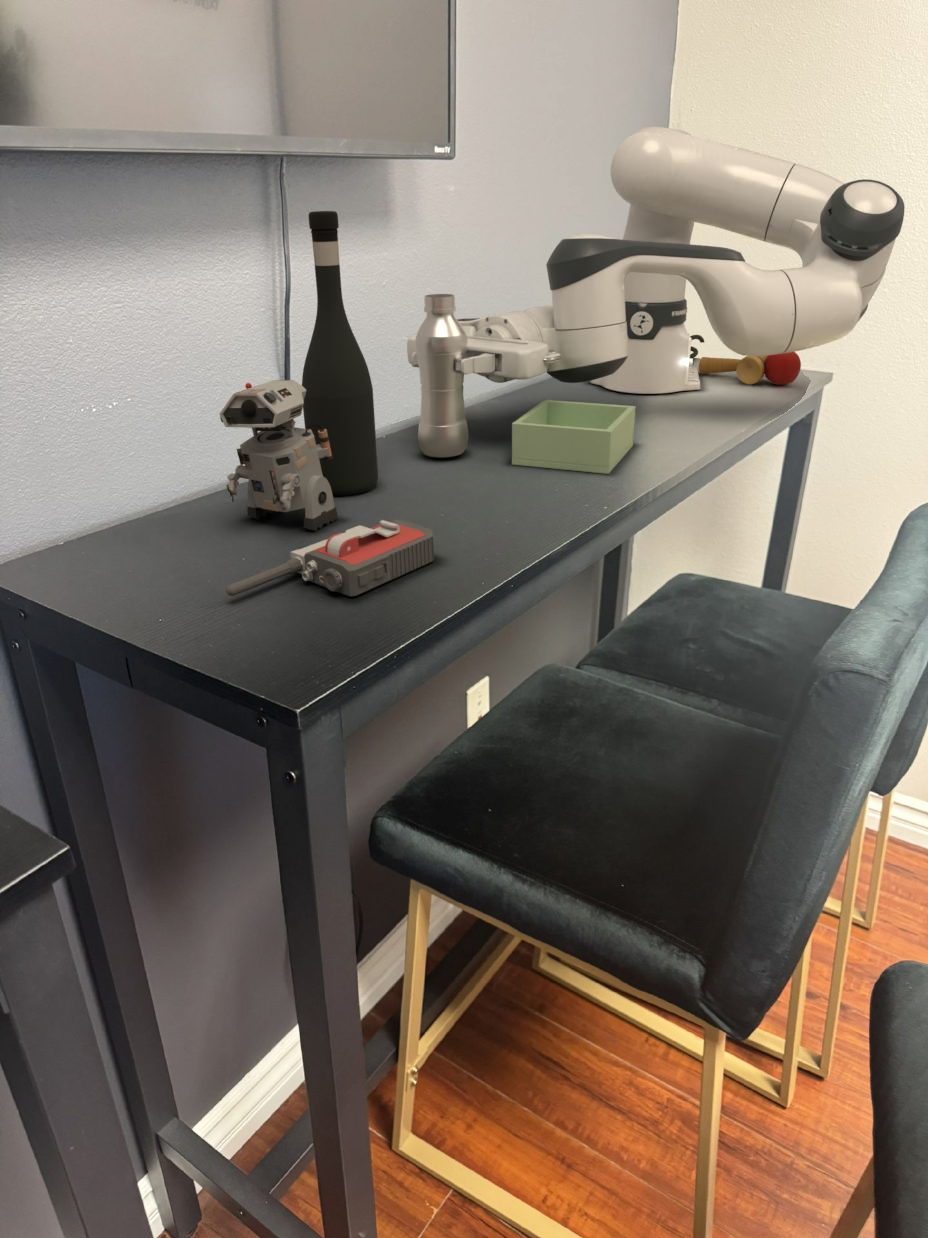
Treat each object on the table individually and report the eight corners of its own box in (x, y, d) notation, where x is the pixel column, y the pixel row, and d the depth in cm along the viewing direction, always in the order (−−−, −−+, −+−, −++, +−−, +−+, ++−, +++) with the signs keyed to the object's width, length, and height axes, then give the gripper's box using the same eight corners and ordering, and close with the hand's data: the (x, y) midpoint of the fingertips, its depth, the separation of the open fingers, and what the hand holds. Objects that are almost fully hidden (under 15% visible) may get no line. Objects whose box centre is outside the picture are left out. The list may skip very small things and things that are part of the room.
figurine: (211, 537, 93) (188, 391, 86) (282, 504, 102) (266, 369, 95) (280, 552, 89) (262, 400, 82) (347, 516, 98) (336, 376, 91)
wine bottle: (331, 474, 111) (308, 209, 98) (389, 480, 109) (373, 209, 96) (298, 494, 105) (269, 212, 91) (360, 501, 102) (338, 212, 89)
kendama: (689, 385, 160) (787, 384, 148) (691, 348, 158) (790, 344, 146) (711, 386, 165) (806, 385, 153) (713, 350, 164) (810, 346, 152)
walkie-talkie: (384, 537, 92) (221, 602, 78) (381, 496, 90) (214, 555, 76) (448, 557, 87) (286, 631, 73) (447, 514, 85) (280, 582, 71)
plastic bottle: (412, 452, 120) (405, 294, 111) (460, 446, 122) (457, 291, 113) (426, 465, 114) (420, 300, 105) (476, 459, 116) (474, 296, 107)
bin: (543, 437, 125) (544, 399, 123) (633, 445, 121) (635, 406, 119) (511, 464, 114) (511, 423, 112) (608, 474, 110) (611, 431, 107)
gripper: (567, 380, 117) (502, 399, 107) (448, 363, 129) (380, 379, 119) (568, 330, 114) (502, 345, 105) (447, 317, 126) (377, 330, 117)
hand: (436, 363), depth 112 cm, fingers closed on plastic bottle, 6 cm apart
